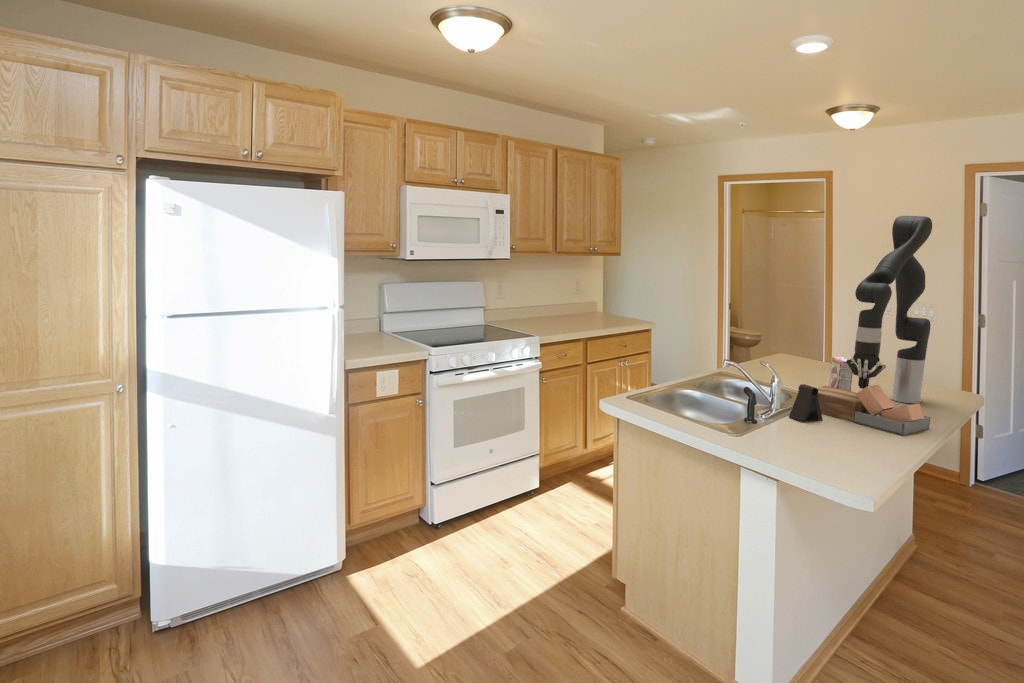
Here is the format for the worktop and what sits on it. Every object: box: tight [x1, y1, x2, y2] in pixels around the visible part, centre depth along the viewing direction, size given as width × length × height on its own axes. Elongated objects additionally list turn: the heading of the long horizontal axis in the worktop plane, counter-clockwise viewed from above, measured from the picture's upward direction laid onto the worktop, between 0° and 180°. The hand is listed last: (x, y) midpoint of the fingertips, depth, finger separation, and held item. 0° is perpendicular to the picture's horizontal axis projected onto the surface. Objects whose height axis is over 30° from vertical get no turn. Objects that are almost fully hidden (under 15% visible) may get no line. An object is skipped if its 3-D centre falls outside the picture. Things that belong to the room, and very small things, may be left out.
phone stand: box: [788, 383, 823, 423], centre depth 203 cm, size 9×6×12 cm, turn 104°
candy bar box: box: [828, 356, 854, 392], centre depth 230 cm, size 11×5×16 cm, turn 168°
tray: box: [853, 408, 931, 437], centre depth 197 cm, size 16×16×4 cm
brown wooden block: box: [815, 385, 878, 423], centre depth 213 cm, size 14×20×7 cm
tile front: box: [881, 403, 925, 423], centre depth 194 cm, size 7×9×5 cm
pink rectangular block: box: [856, 384, 896, 416], centre depth 201 cm, size 7×9×5 cm
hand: (862, 388), depth 205 cm, fingers closed
